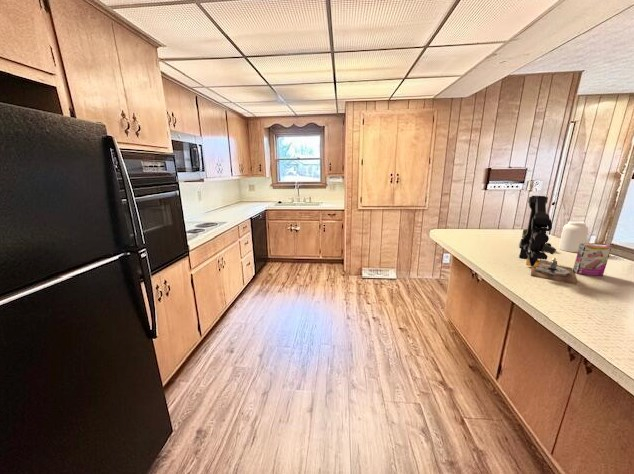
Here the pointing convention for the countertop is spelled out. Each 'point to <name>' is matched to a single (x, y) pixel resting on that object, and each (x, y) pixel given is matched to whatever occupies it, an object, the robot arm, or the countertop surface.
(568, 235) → the white container
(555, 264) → the post
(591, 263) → the candy bar box
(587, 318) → the countertop surface
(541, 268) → the flange plate
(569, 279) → the walnut board
